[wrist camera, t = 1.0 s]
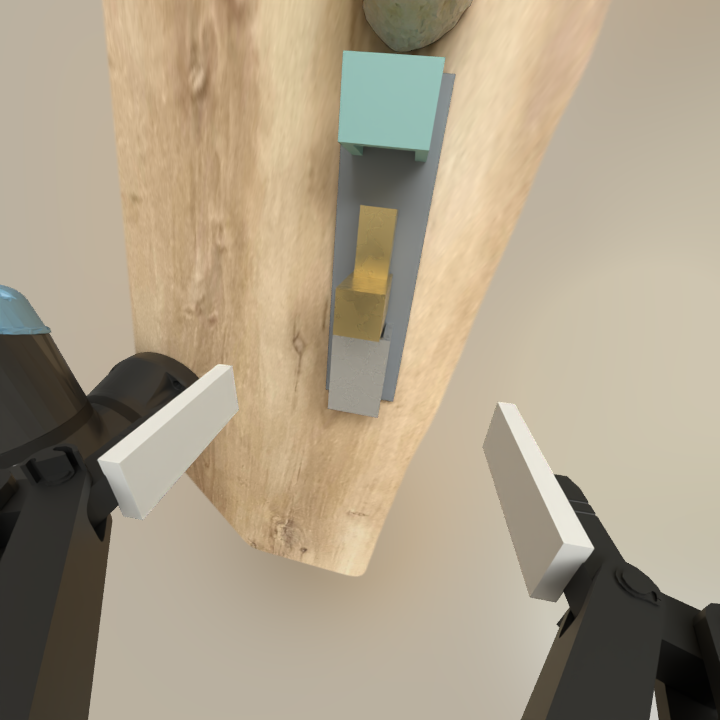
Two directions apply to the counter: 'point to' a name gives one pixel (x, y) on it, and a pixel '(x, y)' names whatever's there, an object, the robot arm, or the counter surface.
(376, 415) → the grey rectangular sleeve
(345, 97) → the socket
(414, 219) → the slate board
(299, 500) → the counter surface
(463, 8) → the sponge
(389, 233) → the gold stepped block
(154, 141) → the counter surface
